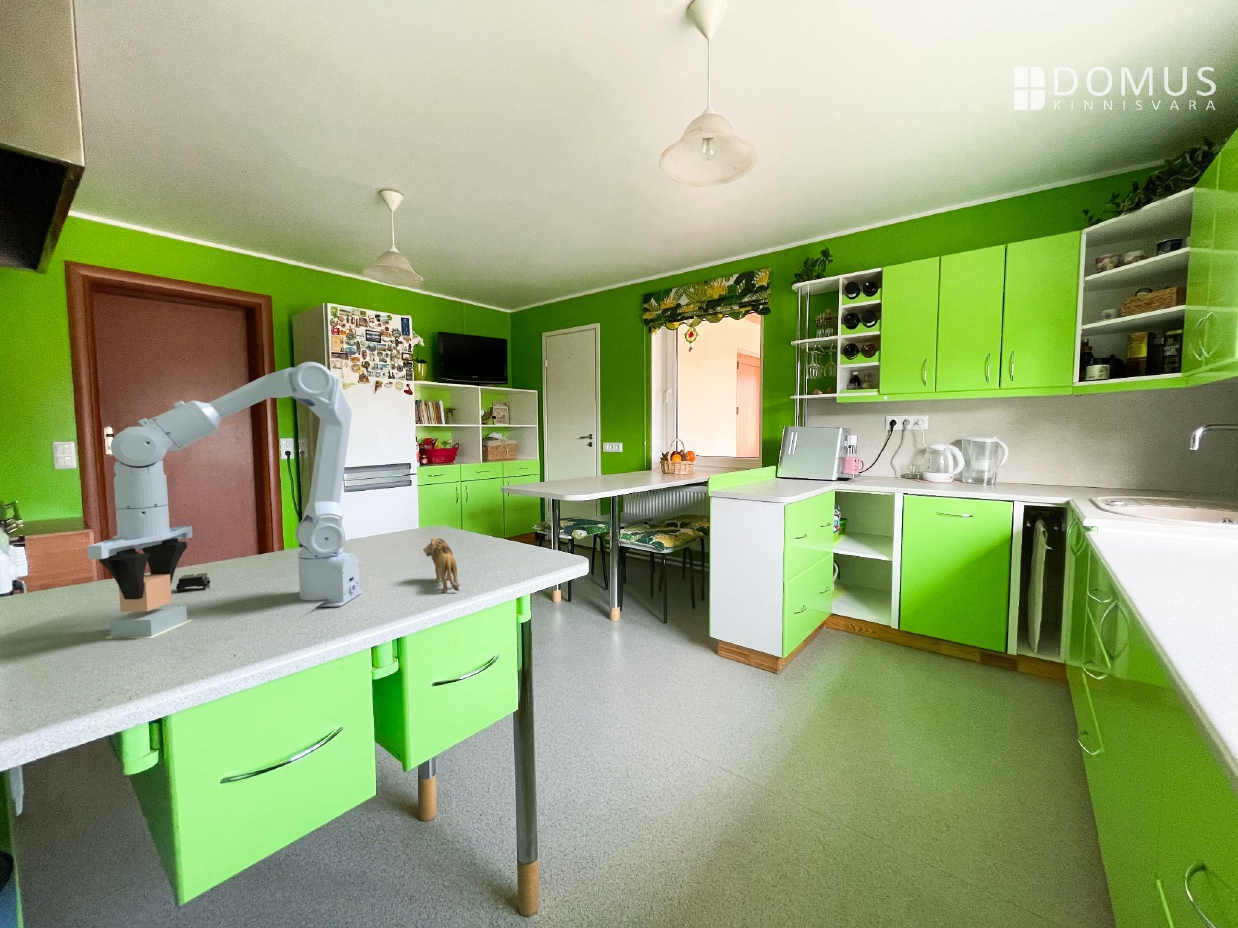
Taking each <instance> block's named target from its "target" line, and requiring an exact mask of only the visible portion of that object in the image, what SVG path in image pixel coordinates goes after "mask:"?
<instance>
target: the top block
mask: <svg viewBox="0 0 1238 928" xmlns="http://www.w3.org/2000/svg"><path fill="white" fill-rule="evenodd" d="M118 593H119V606H120V607H119V608H120V612H123V613H125V612H129V613H131V612H135V611H150V610H152V609H155V608H158V607H160V606H167V604H171V603H172V583H170V574H156V575H151V574H144V591H143V596H142V598H140V599H124V596H123V594H122V592H121V590H120V588H119V587H118Z"/></svg>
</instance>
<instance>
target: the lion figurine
mask: <svg viewBox="0 0 1238 928" xmlns="http://www.w3.org/2000/svg"><path fill="white" fill-rule="evenodd" d="M422 551H423V553H424V554H425V556H426V557H427V558H428V557H431V560H432V561H433V564H434V569H435V570H434V572H435V575H436V578H435V579H434V580H433V582H434V583H442V589H441V592H442V593H447V592H448V591H449V590H448V582H447V579H449V580H448V581H449V582H450V585H451V587H452V588H453V590H454V591H457V592H458V591H460V589H459V587H460V585H461V584H460V583H459V582H458V581H459V580H458V564H457V561H456V558H455V557H454V555H453V551H452V549H451V548H450V545H449V544H448V543H447V542H446V541H445V540H444V539H442V538H441V537H434V538H431V540H430V543H429V544H428V545H427V546H426V547H424V548H423V549H422Z"/></svg>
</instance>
